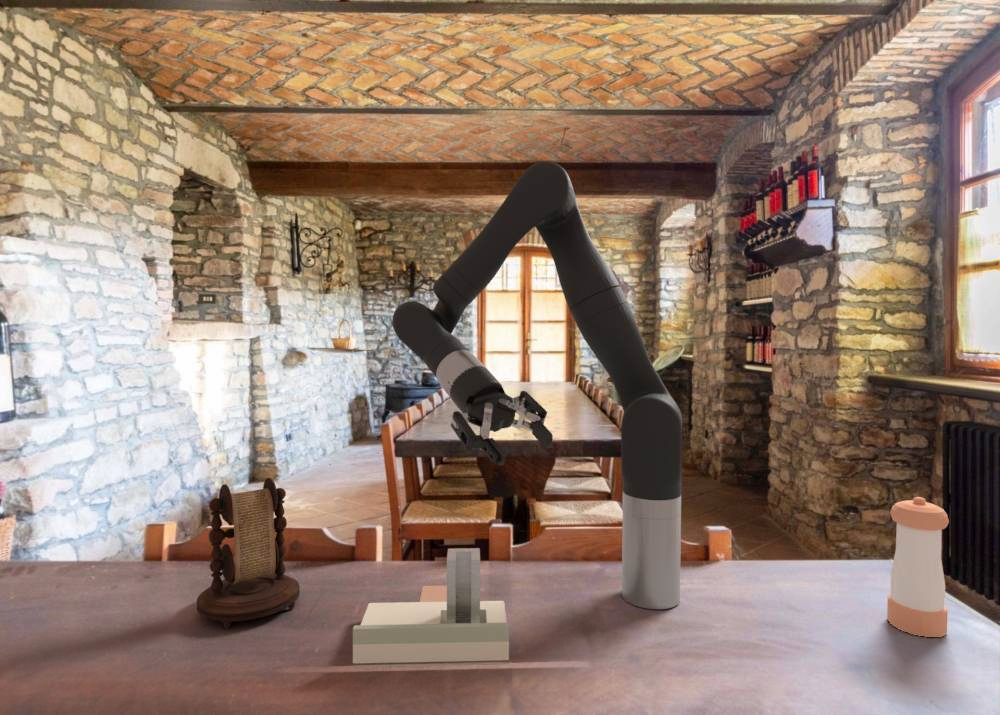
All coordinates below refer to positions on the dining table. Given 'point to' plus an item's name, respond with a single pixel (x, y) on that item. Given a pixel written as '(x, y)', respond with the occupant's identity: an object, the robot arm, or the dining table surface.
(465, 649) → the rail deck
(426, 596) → the tile
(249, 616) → the scroll
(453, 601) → the clip
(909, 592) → the salt shaker
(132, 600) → the dining table surface
